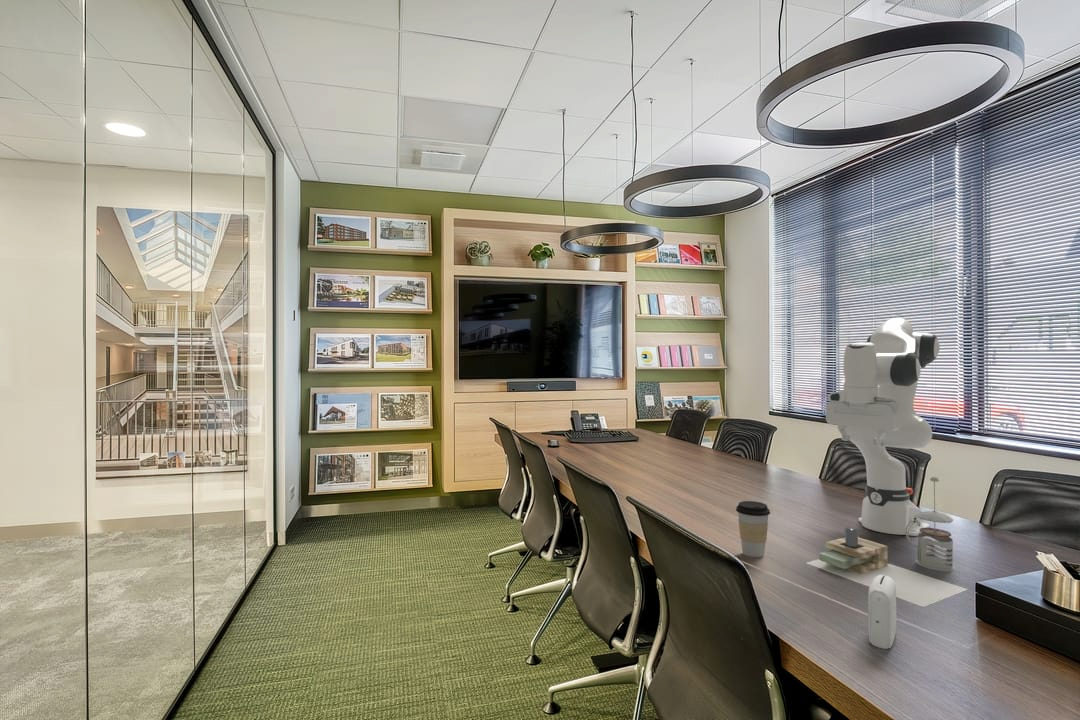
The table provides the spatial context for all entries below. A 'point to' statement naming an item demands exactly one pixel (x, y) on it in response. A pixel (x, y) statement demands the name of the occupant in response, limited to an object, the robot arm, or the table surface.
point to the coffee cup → (753, 527)
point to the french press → (942, 536)
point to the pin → (851, 537)
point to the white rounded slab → (882, 611)
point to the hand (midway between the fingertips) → (861, 442)
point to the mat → (900, 582)
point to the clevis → (855, 555)
